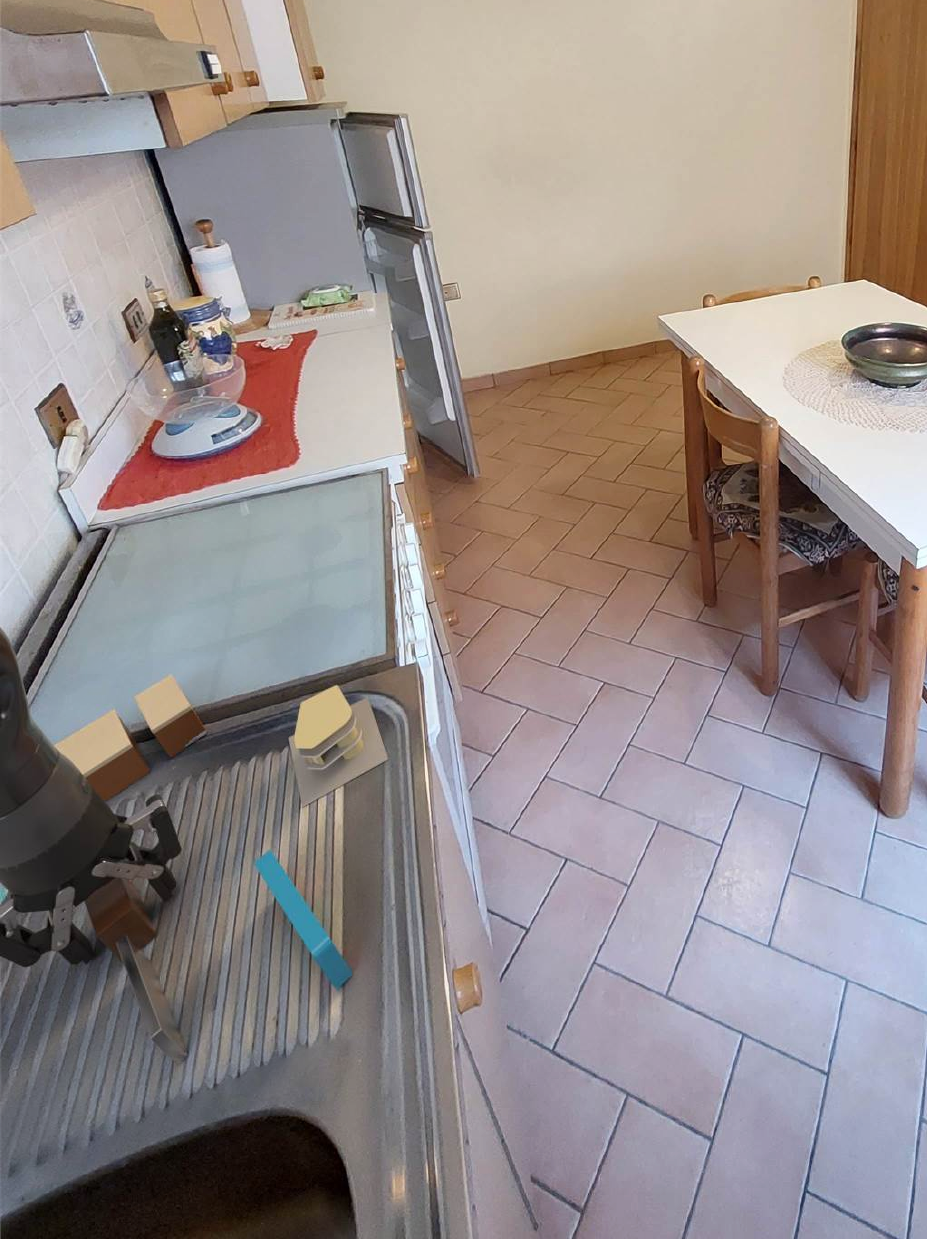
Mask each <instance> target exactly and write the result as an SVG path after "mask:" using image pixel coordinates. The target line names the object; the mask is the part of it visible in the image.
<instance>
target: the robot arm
mask: <svg viewBox="0 0 927 1239" xmlns="http://www.w3.org/2000/svg"><path fill="white" fill-rule="evenodd" d="M27 696H28V695H27V693H26V689H25V685H24V680H23V676H22V672H21V669H20V664H19V660H18V657H17V655H16V652H15V649H14V646H13V644H12V642H11V640H10V639H9V637H8V635H7V633H6V632H5V631H4V630H3V629H2V627H0V884H1V885H2V886H3V887H4V888H5V889H6V890H7V891H8V892H9V893H10V899H9V900H8V901H7V902H5V903H4V904H2V906H0V957H1V958H2V959H5V960H8V961H10V962H11V963H14V964H16V965H19V966H21V967H23V968H29V967H31V966H34V965H35V964H36V963H38V962H39V960H40V959H41V958H42V956H43V955H44V954H46V953H48V952H58V954H60V955H61V956H62V957H63V958H64V959H65V960H66V961H67V962H68V963H69V964H70V965H73V966H78V965H79V964H80V963H81V962H82V963H83V964H84V965H88V964H89V963H91V962H92V961H93V960H94V959H96V954H95V950H94V947H93V944H92V943H91V940H90V939H89V937H87V936H86V935H85V934H84V933H83V932H82V931H81V930H80V929H79V928H78V927H77V925H76V924H75V923H74V922H73V918H74V917H73V916H74V907H75V908H77V907H78V906H80V905H81V904H83V903H85V900H86V899H87V898H88V897H89V896H90V895H91V894H93V893H94V892H95V891H96V890H97V889H99V888H101V887H103V886H105V885H107V884H108V883H109V882H111V881H112V880H114V879H115V878H122V879H129V880H130V881H132V880H134V879H135V878H139V879H146V880H147V882H148V883H149V885H150V886H151V887H152V889H153V890H154V891H155V892H156V893H157V894H158V896H159V897H160V899H161V900H162V901H163V902H164V903H167V902H169V900H171V899H172V898H174V894H173V891H174V890H175V889H176V888H177V884H178V883H177V881H176V879H175V876H174V874H173V872H172V871H171V870H170V868H169V867H168V866H167V864H168V862H169V861H170V860H173V859H175V858H177V857H179V856H180V854H181V853H182V851H183V849H182V848H183V847H182V845H181V842H180V840H179V837H178V834H177V831H176V829H175V826H174V822H173V820H172V817H171V814H170V811H169V809H168V808H167V806H166V804H165V802H164V800H163V798H162V796H161V794H153V795H152V796H150V797H148V798H147V800H146V801H145V807H144V808H142V809H140V810H139V811H137V812H135V813H134V814H132V815H130V816H128V817H127V816H125V815H119V814H116V813H115V812H113V810H112V809H111V807H109V805H108V804H107V802H104V800H103V799H102V798H101V797H100V795H99V794H98V793H97V792H96V790H95V789H94V788H93V787H92V786H91V784H90V783H89V782H88V781H87V779H86V778H85V777H84V776H83V774H82V773H81V772H80V771H79V769H78V768H77V767H76V766H75V765H74V764H73V762H72V761H71V760H69V759H68V758H67V757H66V756H64V755H63V754H62V753H60V752H59V751H58V750H57V749H56V748H55V747H54V744H53V743H52V742H51V741H50V739H49V738H48V737H47V735H46V734H45V733H44V732H43V731H42V729H41V728H40V727H39V725H38V724H37V723H36V722H35V721H34V719H33V717H32V713H31V710H30V704H29V700H28V699H29V698H28V697H27ZM137 830H142V831H143V832H145V833H150V834H156V837H157V840H158V842H157V844H155V846H153V848H149V847H144V846H139V845H138V844H136V843H135V842H133V841H132V839H133V836H134V832H135V831H137ZM39 912H46V914H45V916H46V917H45V927H44V928H42V929H40V930H38V931H36V932H35V931H33V930H31V929H29V928H27V927H25V926H23V925H21V924H19V922H18V919H17V918H18V917H17V916H18V914H19V913H20V914H25V913H39Z"/></svg>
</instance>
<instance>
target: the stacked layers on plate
mask: <svg viewBox="0 0 927 1239" xmlns="http://www.w3.org/2000/svg"><path fill="white" fill-rule="evenodd" d="M296 720H297V721H296V727H295V731H294V734H293V735H290V736H289V737H288V742H289V747H290V753H291V758H292V763H293V768H294V773H295V778H296V783H297V788H298V794H299V798H300V804H301V808H305V807H306V806H307V805H309V804H311V803H313V802H314V801H316V800H318V799H320V798H322V797H323V796H325V795H327V794H329V793H331V792H333V791H334V790H336V789H338V788H340V787H341V786H344V785H345V784H347V783H348V782H350V781H352V780H354V779H356V778H357V777H359V776H361V775H362V774H365V773H366V772H368V771H370V770H372V769H373V768H375V767H377V766H379V765H380V764H383V763H384V762H386V761H388V760H389V756H388V754H387V750H386V747H385V744H384V741H383V739H382V735H381V732H380V728H379V726H378V723H377V720H376V717H375V714H374V711H373V708H372V705H371V702H370V698H369V697H368V696H366V697H364V698H363V699H361V700H359V701H356V702H355V703H353V704H351V705H350V704H349V702H348V701H347V699H346V697H345V695H344V694H343V692H342V691H341V689H340V687H339V686H338V685H337V684H336V685H333V686H332V687H331V686H330V687H329V688H327V689H325V690H324V691H322V692H320V693H317V694H315V695H314V696H311V697H310V698H308V699H305V700H303V701H301V702H300V704H299V711H298V716H297V719H296Z"/></svg>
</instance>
